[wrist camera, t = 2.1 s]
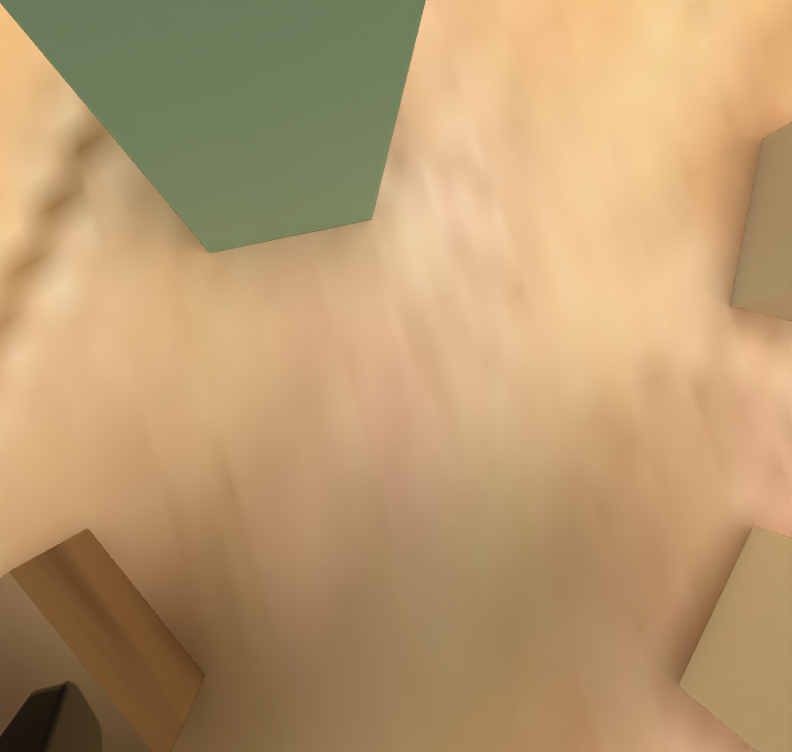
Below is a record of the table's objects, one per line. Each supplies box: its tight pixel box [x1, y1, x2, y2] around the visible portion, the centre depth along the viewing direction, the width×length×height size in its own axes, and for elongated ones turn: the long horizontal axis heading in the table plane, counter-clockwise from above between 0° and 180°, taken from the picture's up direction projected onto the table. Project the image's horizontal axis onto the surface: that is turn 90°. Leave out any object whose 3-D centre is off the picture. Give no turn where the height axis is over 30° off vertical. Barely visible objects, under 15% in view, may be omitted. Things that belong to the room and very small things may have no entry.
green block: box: [0, 0, 426, 253], centre depth 14 cm, size 4×4×13 cm
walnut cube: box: [0, 529, 205, 752], centre depth 17 cm, size 5×5×5 cm
